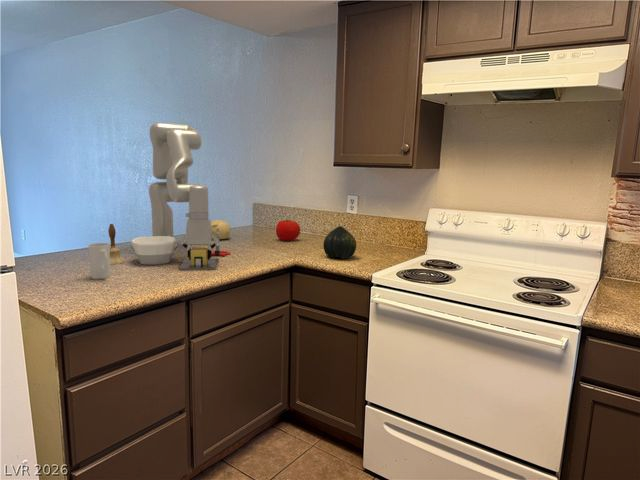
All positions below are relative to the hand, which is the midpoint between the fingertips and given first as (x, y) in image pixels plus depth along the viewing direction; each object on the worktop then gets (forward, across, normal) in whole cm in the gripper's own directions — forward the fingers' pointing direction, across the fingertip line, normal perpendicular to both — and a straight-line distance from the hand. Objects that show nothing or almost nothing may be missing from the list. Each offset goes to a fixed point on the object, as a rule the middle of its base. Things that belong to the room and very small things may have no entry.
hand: (199, 259), depth 184 cm
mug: (+3, -32, -19) cm, 37 cm away
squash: (+3, +61, +13) cm, 62 cm away
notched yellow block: (+2, 0, 0) cm, 2 cm away
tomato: (+3, +41, +57) cm, 70 cm away
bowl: (+3, -19, +7) cm, 20 cm away
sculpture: (+3, +4, +61) cm, 61 cm away
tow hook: (+3, +7, +21) cm, 22 cm away
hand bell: (+3, -35, +6) cm, 36 cm away
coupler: (+2, 0, 0) cm, 2 cm away
